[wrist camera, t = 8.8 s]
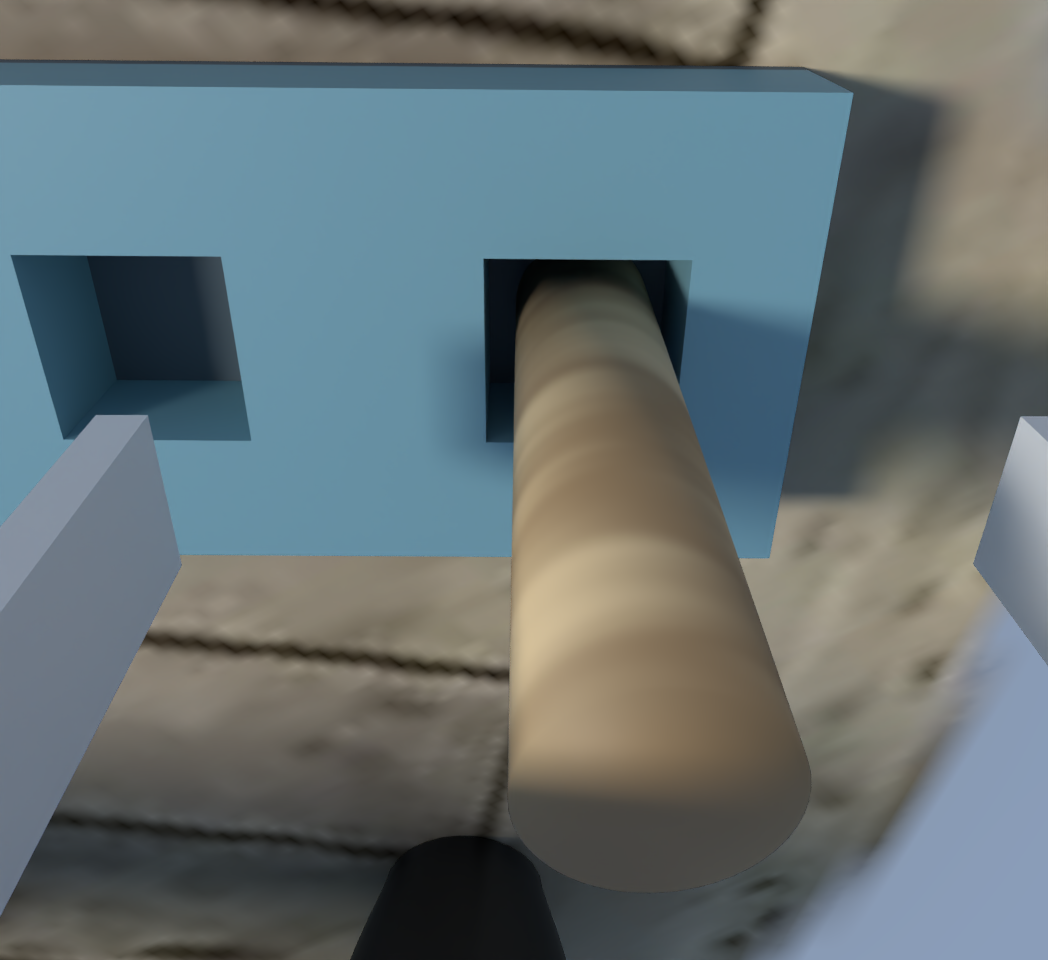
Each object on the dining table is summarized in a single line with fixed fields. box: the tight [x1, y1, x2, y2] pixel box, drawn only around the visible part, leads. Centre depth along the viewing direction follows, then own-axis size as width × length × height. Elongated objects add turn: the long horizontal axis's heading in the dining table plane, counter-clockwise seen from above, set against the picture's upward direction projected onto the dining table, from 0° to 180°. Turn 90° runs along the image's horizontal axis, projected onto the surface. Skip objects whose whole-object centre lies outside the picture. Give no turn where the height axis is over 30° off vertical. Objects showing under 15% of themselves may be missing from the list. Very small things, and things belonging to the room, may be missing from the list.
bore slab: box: [0, 59, 853, 558], centre depth 20 cm, size 18×10×4 cm, turn 89°
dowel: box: [507, 259, 811, 893], centre depth 15 cm, size 3×3×14 cm
